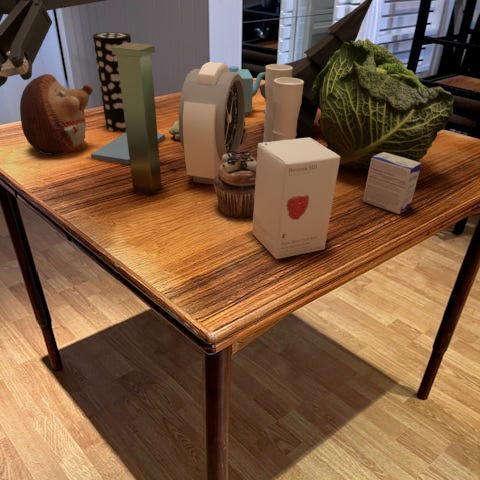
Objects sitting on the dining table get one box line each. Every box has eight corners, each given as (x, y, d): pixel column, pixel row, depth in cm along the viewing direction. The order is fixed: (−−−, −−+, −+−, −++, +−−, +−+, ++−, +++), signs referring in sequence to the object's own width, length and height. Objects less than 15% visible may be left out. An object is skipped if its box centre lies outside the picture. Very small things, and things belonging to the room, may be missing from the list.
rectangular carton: (275, 261, 71) (284, 163, 61) (250, 234, 77) (255, 141, 68) (326, 250, 74) (342, 155, 64) (299, 224, 80) (309, 135, 71)
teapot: (202, 104, 137) (201, 60, 130) (262, 104, 138) (265, 61, 131) (204, 120, 124) (203, 73, 117) (271, 120, 126) (274, 73, 119)
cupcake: (274, 216, 82) (279, 160, 76) (221, 222, 80) (221, 165, 74) (257, 194, 89) (260, 140, 83) (208, 199, 87) (207, 144, 81)
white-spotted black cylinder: (123, 119, 123) (112, 31, 110) (146, 126, 119) (138, 35, 107) (99, 127, 118) (84, 35, 105) (122, 134, 114) (110, 39, 101)
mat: (128, 164, 99) (128, 159, 99) (91, 158, 101) (90, 153, 101) (165, 138, 113) (164, 134, 112) (131, 133, 115) (130, 129, 114)
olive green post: (153, 196, 87) (140, 50, 72) (129, 192, 88) (111, 47, 73) (165, 186, 91) (154, 45, 76) (142, 182, 92) (126, 42, 77)
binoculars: (295, 182, 94) (306, 84, 83) (269, 182, 94) (276, 84, 83) (282, 151, 108) (290, 64, 96) (259, 151, 107) (264, 63, 96)
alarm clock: (220, 193, 89) (220, 76, 76) (178, 187, 91) (171, 72, 78) (245, 161, 102) (248, 56, 90) (208, 156, 104) (206, 53, 91)
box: (411, 208, 87) (423, 162, 81) (399, 215, 84) (411, 169, 79) (373, 194, 91) (383, 150, 85) (361, 201, 88) (370, 156, 83)
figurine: (103, 156, 102) (91, 81, 93) (26, 162, 99) (5, 84, 89) (99, 135, 113) (88, 65, 103) (30, 139, 109) (11, 68, 100)
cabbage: (403, 212, 100) (474, 113, 82) (296, 186, 95) (347, 75, 77) (382, 144, 115) (438, 49, 97) (288, 119, 110) (330, 13, 92)
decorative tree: (300, 154, 116) (409, 20, 100) (254, 117, 110) (362, -32, 93) (290, 134, 127) (386, 11, 111) (247, 100, 121) (343, -36, 105)
